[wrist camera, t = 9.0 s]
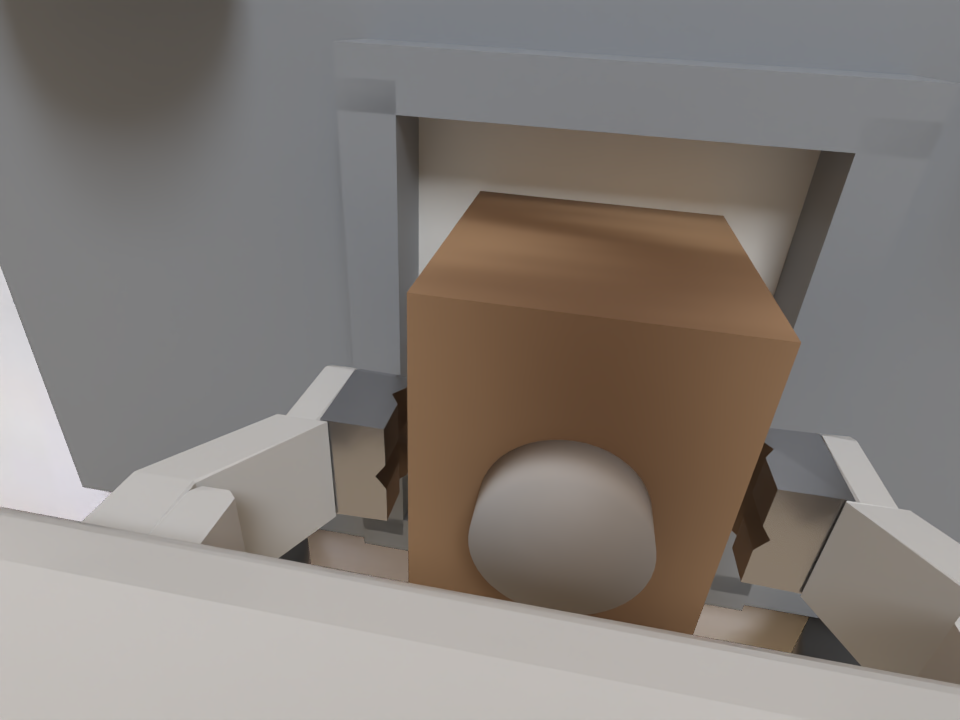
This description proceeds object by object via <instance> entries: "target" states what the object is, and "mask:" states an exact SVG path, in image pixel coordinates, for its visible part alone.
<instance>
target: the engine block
mask: <svg viewBox="0 0 960 720" xmlns="http://www.w3.org/2000/svg"><path fill="white" fill-rule="evenodd" d="M800 345H801V341H800V340H799V338H798V336H797V335H796V333H795V331H794V330H793V328H792V327H791V325H790V323H789V322H788V320H787V318H786V317H785V315H784V314H783V312H782V310H781V309H780V307H779V305H778V304H777V302H776V301H775V299H774V297H773V296H772V294H771V292H770V291H769V289H768V287H767V286H766V284H765V283H764V281H763V279H762V278H761V276H760V274H759V273H758V271H757V270H756V268H755V266H754V265H753V263H752V261H751V260H750V258H749V257H748V255H747V253H746V252H745V250H744V248H743V247H742V245H741V244H740V242H739V240H738V239H737V237H736V235H735V234H734V232H733V231H732V229H731V227H730V226H729V224H728V222H727V221H726V219H725V218H724V216H721V215H711V214H701V213H691V212H682V211H672V210H662V209H652V208H643V207H633V206H623V205H614V204H604V203H594V202H584V201H575V200H565V199H555V198H546V197H536V196H526V195H516V194H507V193H497V192H487V191H480V192H479V193H478V195H477V196H476V198H475V199H474V200H473V202H472V203H471V204H470V206H469V207H468V209H467V210H466V211H465V213H464V214H463V216H462V217H461V218H460V220H459V221H458V222H457V224H456V225H455V227H454V228H453V229H452V231H451V232H450V234H449V235H448V236H447V238H446V239H445V240H444V242H443V243H442V245H441V246H440V247H439V249H438V250H437V252H436V253H435V254H434V256H433V257H432V258H431V260H430V261H429V263H428V264H427V265H426V267H425V268H424V269H423V271H422V272H421V274H420V275H419V276H418V278H417V279H416V281H415V282H414V283H413V285H412V286H411V287H410V289H409V290H408V292H407V410H408V569H409V583H414V584H419V585H424V586H430V587H435V588H441V589H446V590H451V591H457V592H462V593H467V594H473V595H478V596H484V597H489V598H495V599H500V600H506V601H511V602H516V603H522V604H527V605H533V606H538V607H544V608H549V609H555V610H560V611H566V612H571V613H576V614H582V615H587V616H593V617H598V618H604V619H609V620H615V621H620V622H625V623H631V624H636V625H642V626H647V627H653V628H658V629H664V630H669V631H674V632H680V633H685V634H690V635H693V633H694V630H695V627H696V625H697V622H698V619H699V617H700V614H701V611H702V609H703V606H704V603H705V601H706V598H707V595H708V592H709V590H710V587H711V584H712V582H713V579H714V576H715V574H716V571H717V568H718V566H719V563H720V560H721V558H722V555H723V552H724V549H725V547H726V544H727V541H728V539H729V536H730V533H731V531H732V528H733V525H734V523H735V520H736V517H737V514H738V512H739V509H740V506H741V504H742V501H743V498H744V496H745V493H746V490H747V488H748V485H749V482H750V479H751V477H752V474H753V471H754V469H755V466H756V463H757V461H758V458H759V455H760V453H761V450H762V447H763V444H764V442H765V439H766V436H767V434H768V431H769V428H770V426H771V423H772V420H773V418H774V415H775V412H776V410H777V407H778V404H779V401H780V399H781V396H782V393H783V391H784V388H785V385H786V383H787V380H788V377H789V375H790V372H791V369H792V366H793V364H794V361H795V358H796V356H797V353H798V350H799V348H800Z"/></svg>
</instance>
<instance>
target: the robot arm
mask: <svg viewBox="0 0 960 720" xmlns="http://www.w3.org/2000/svg"><path fill="white" fill-rule="evenodd" d="M407 474H408V410H407V376H402V375H395V374H389V373H383V372H377V371H371V370H364V369H357V368H353V367H345V366H337V365H328V366H326V367H325V368H324V369H323V370H322V371H321V372H320V374H319V375H318V376H317V377H316V379H315V380H314V381H313V382H312V384H311V385H310V386H309V387H308V388H307V390H306V391H305V392H304V393H303V395H302V396H301V397H300V398H299V400H298V401H297V402H296V403H295V405H294V406H293V407H292V408H291V409H290V411H289V412H288V413H287V414H286V415H281V414H276V415H274V416H271V417H269V418H266V419H264V420H261V421H259V422H256V423H254V424H251V425H249V426H246V427H244V428H241V429H239V430H236V431H234V432H231V433H229V434H226V435H224V436H221V437H219V438H216V439H214V440H211V441H209V442H206V443H204V444H201V445H199V446H196V447H194V448H191V449H189V450H186V451H184V452H181V453H179V454H177V455H174V456H172V457H169V458H167V459H164V460H162V461H159V462H157V463H154V464H152V465H149V466H147V467H144V468H142V469H139V470H137V471H134V472H133V473H132V474H131V475H130V476H129V477H128V478H127V479H126V480H125V481H124V482H123V483H122V484H121V485H120V486H118V487H117V488H116V489H115V490H114V491H113V492H112V493H111V494H110V495H109V496H108V497H107V498H106V499H105V500H104V501H103V502H102V503H101V504H100V505H99V506H98V507H97V508H95V509H94V510H93V511H92V512H91V513H90V514H89V515H88V516H87V517H86V518H85V519H84V520H83V521H82V522H80V521H74V520H69V519H63V518H58V517H53V516H47V515H42V514H36V513H31V512H26V511H20V510H15V509H10V508H4V507H0V720H960V544H959V543H958V542H956V541H955V540H953V539H952V538H950V537H949V536H947V535H946V534H944V533H943V532H941V531H940V530H938V529H937V528H935V527H934V526H932V525H931V524H929V523H928V522H926V521H925V520H923V519H922V518H920V517H919V516H918V515H916V514H915V513H913V512H912V511H910V510H903V509H898V507H897V505H896V504H895V502H894V500H893V499H892V497H891V496H890V494H889V492H888V491H887V489H886V487H885V486H884V484H883V483H882V481H881V479H880V478H879V476H878V474H877V473H876V471H875V470H874V468H873V466H872V465H871V463H870V461H869V460H868V458H867V457H866V455H865V453H864V452H863V450H862V448H861V447H860V445H859V443H858V442H857V441H856V440H855V439H853V438H851V437H849V436H839V435H830V434H820V433H809V432H800V431H792V430H783V429H775V428H769V431H768V434H767V436H766V439H765V442H764V444H763V447H762V450H761V453H760V455H759V458H758V461H757V463H756V466H755V469H754V471H753V474H752V477H751V479H750V482H749V485H748V488H747V490H746V493H745V496H744V498H743V501H742V504H741V506H740V509H739V512H738V514H737V517H736V520H735V523H734V525H733V528H732V531H733V532H734V533H735V534H736V538H735V541H734V544H733V547H732V549H733V553H734V557H735V561H736V565H737V569H738V573H739V577H740V580H741V582H744V583H749V584H754V585H759V586H764V587H769V588H774V589H779V590H784V591H789V592H794V593H799V594H801V596H800V597H801V598H802V599H803V600H804V601H805V602H806V603H807V605H808V606H809V607H810V608H811V609H812V610H813V611H814V612H815V614H816V615H817V616H818V617H819V618H820V619H821V620H822V622H823V623H824V624H825V625H826V626H827V627H828V628H829V630H830V631H831V632H832V633H833V634H834V635H835V636H836V638H837V639H838V640H839V641H840V642H841V643H842V644H843V646H844V647H845V648H846V649H847V650H848V651H849V652H850V654H851V655H852V656H853V657H854V658H855V659H856V660H857V662H858V663H859V664H860V665H861V666H857V665H852V664H846V663H841V662H835V661H830V660H825V659H819V658H814V657H809V656H803V655H798V654H793V653H787V652H782V651H776V650H771V649H766V648H760V647H755V646H750V645H744V644H739V643H733V642H728V641H723V640H717V639H712V638H707V637H701V636H696V635H690V634H685V633H680V632H674V631H669V630H664V629H658V628H653V627H647V626H642V625H636V624H631V623H625V622H620V621H615V620H609V619H604V618H598V617H593V616H587V615H582V614H576V613H571V612H566V611H560V610H555V609H549V608H544V607H538V606H533V605H527V604H522V603H516V602H511V601H506V600H500V599H495V598H489V597H484V596H478V595H473V594H467V593H462V592H457V591H451V590H446V589H441V588H435V587H430V586H424V585H419V584H414V583H408V582H403V581H397V580H392V579H387V578H381V577H376V576H370V575H365V574H360V573H354V572H349V571H344V570H338V569H333V568H327V567H322V566H317V565H311V564H306V563H300V562H295V561H290V560H284V559H279V557H281V556H282V555H284V554H285V553H286V552H288V551H289V550H290V549H292V548H293V547H295V546H296V545H297V544H299V543H300V542H301V541H303V540H304V539H306V538H307V537H308V536H310V535H311V534H312V533H314V532H315V531H317V530H318V529H319V528H321V527H322V526H323V525H325V524H326V523H328V522H329V521H330V520H332V519H333V518H334V517H336V514H343V515H350V516H357V517H364V518H371V519H378V520H385V521H387V520H388V518H389V515H390V513H391V511H392V509H393V506H394V504H395V502H396V499H397V497H398V495H399V493H400V487H399V479H400V478H402V477H404V476H405V475H407Z"/></svg>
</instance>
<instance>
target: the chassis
mask: <svg viewBox="0 0 960 720" xmlns="http://www.w3.org/2000/svg"><path fill="white" fill-rule="evenodd" d="M480 191H487V192H497V193H507V194H516V195H526V196H536V197H546V198H555V199H565V200H575V201H584V202H594V203H604V204H614V205H623V206H633V207H643V208H652V209H662V210H672V211H682V212H691V213H701V214H711V215H721V216H724V218H725V219H726V221H727V222H728V224H729V226H730V227H731V229H732V231H733V232H734V234H735V235H736V237H737V239H738V240H739V242H740V244H741V245H742V247H743V248H744V250H745V252H746V253H747V255H748V257H749V258H750V260H751V261H752V263H753V265H754V266H755V268H756V270H757V271H758V273H759V274H760V276H761V278H762V279H763V281H764V283H765V284H766V286H767V287H768V289H769V291H770V292H771V294H772V296H773V297H774V299H775V301H776V302H777V304H778V305H779V307H780V309H781V310H782V312H783V314H784V315H785V317H786V318H787V320H788V322H789V323H790V325H791V327H792V328H793V330H794V331H795V333H796V335H797V336H798V338H799V340H800V341H801V345H800V348H799V350H798V353H797V356H796V358H795V361H794V364H793V366H792V369H791V372H790V375H789V377H788V380H787V383H786V385H785V388H784V391H783V393H782V396H781V399H780V401H779V404H778V407H777V410H776V412H775V415H774V418H773V420H772V423H771V426H770V428H775V429H783V430H792V431H800V432H809V433H820V434H830V435H839V436H849V437H851V438H853V439H855V440H856V441H857V442H858V443H859V445H860V447H861V448H862V450H863V452H864V453H865V455H866V457H867V458H868V460H869V461H870V463H871V465H872V466H873V468H874V470H875V471H876V473H877V474H878V476H879V478H880V479H881V481H882V483H883V484H884V486H885V487H886V489H887V491H888V492H889V494H890V496H891V497H892V499H893V500H894V502H895V504H896V505H897V507H898V509H903V510H910V511H912V512H913V513H915V514H916V515H918V516H919V517H920V518H922V519H923V520H925V521H926V522H928V523H929V524H931V525H932V526H934V527H935V528H937V529H938V530H940V531H941V532H943V533H944V534H946V535H947V536H949V537H950V538H952V539H953V540H955V541H956V542H958V543H959V544H960V0H0V266H1V269H2V271H3V274H4V277H5V279H6V282H7V285H8V287H9V290H10V293H11V295H12V298H13V301H14V304H15V306H16V309H17V312H18V314H19V317H20V320H21V322H22V325H23V328H24V330H25V333H26V336H27V338H28V341H29V344H30V346H31V349H32V352H33V354H34V357H35V360H36V363H37V365H38V368H39V371H40V373H41V376H42V379H43V381H44V384H45V387H46V389H47V392H48V395H49V397H50V400H51V403H52V405H53V408H54V411H55V413H56V416H57V419H58V422H59V424H60V427H61V430H62V432H63V435H64V438H65V440H66V443H67V446H68V448H69V451H70V454H71V456H72V459H73V462H74V464H75V467H76V470H77V472H78V475H79V478H80V481H81V483H82V486H83V487H86V488H91V489H97V490H102V491H108V492H113V491H114V490H115V489H116V488H117V487H118V486H120V485H121V484H122V483H123V482H124V481H125V480H126V479H127V478H128V477H129V476H130V475H131V474H132V473H133V472H134V471H137V470H139V469H142V468H144V467H147V466H149V465H152V464H154V463H157V462H159V461H162V460H164V459H167V458H169V457H172V456H174V455H177V454H179V453H181V452H184V451H186V450H189V449H191V448H194V447H196V446H199V445H201V444H204V443H206V442H209V441H211V440H214V439H216V438H219V437H221V436H224V435H226V434H229V433H231V432H234V431H236V430H239V429H241V428H244V427H246V426H249V425H251V424H254V423H256V422H259V421H261V420H264V419H266V418H269V417H271V416H274V415H276V414H281V415H286V414H287V413H288V412H289V411H290V409H291V408H292V407H293V406H294V405H295V403H296V402H297V401H298V400H299V398H300V397H301V396H302V395H303V393H304V392H305V391H306V390H307V388H308V387H309V386H310V385H311V384H312V382H313V381H314V380H315V379H316V377H317V376H318V375H319V374H320V372H321V371H322V370H323V369H324V368H325V367H326V366H328V365H337V366H345V367H353V368H357V369H364V370H371V371H377V372H383V373H389V374H395V375H402V376H407V292H408V290H409V289H410V287H411V286H412V285H413V283H414V282H415V281H416V279H417V278H418V276H419V275H420V274H421V272H422V271H423V269H424V268H425V267H426V265H427V264H428V263H429V261H430V260H431V258H432V257H433V256H434V254H435V253H436V252H437V250H438V249H439V247H440V246H441V245H442V243H443V242H444V240H445V239H446V238H447V236H448V235H449V234H450V232H451V231H452V229H453V228H454V227H455V225H456V224H457V222H458V221H459V220H460V218H461V217H462V216H463V214H464V213H465V211H466V210H467V209H468V207H469V206H470V204H471V203H472V202H473V200H474V199H475V198H476V196H477V195H478V193H479V192H480ZM399 487H400V493H399V495H398V497H397V499H396V502H395V504H394V506H393V509H392V511H391V513H390V515H389V518H388V520H387V521H385V520H378V519H371V518H364V517H357V516H350V515H343V514H336V517H334V518H333V519H332V520H330V521H329V522H328V523H326V524H325V525H323V526H322V527H321V528H319V529H321V530H327V531H332V532H338V533H344V534H349V535H355V536H361V537H364V541H365V543H368V544H373V545H379V546H384V547H390V548H395V549H401V550H407V551H408V474H407V475H405V476H404V477H402V478H400V479H399ZM735 538H736V534H735V533H734V532H733V531H731V533H730V536H729V539H728V541H727V544H726V547H725V549H724V552H723V555H722V558H721V560H720V563H719V566H718V568H717V571H716V574H715V576H714V579H713V582H712V584H711V587H710V590H709V592H708V595H707V598H706V601H705V603H704V604H707V605H713V606H719V607H724V608H730V609H735V610H741V611H742V609H743V606H744V605H748V606H753V607H759V608H765V609H770V610H776V611H781V612H787V613H793V614H798V615H804V616H809V619H808V621H807V623H806V625H805V627H804V629H803V631H802V633H801V635H800V637H799V639H798V641H797V643H796V645H795V647H794V649H793V651H792V653H793V654H798V655H803V656H809V657H814V658H819V659H825V660H830V661H835V662H841V663H846V664H852V665H857V666H861V665H860V664H859V663H858V662H857V660H856V659H855V658H854V657H853V656H852V655H851V654H850V652H849V651H848V650H847V649H846V648H845V647H844V646H843V644H842V643H841V642H840V641H839V640H838V639H837V638H836V636H835V635H834V634H833V633H832V632H831V631H830V630H829V628H828V627H827V626H826V625H825V624H824V623H823V622H822V620H821V619H820V618H819V617H818V616H817V615H816V614H815V612H814V611H813V610H812V609H811V608H810V607H809V606H808V605H807V603H806V602H805V601H804V600H803V599H802V598H801V597H800V596H801V594H799V593H794V592H789V591H784V590H779V589H774V588H769V587H764V586H759V585H754V584H749V583H744V582H741V580H740V577H739V573H738V569H737V565H736V561H735V557H734V553H733V549H732V547H733V544H734V541H735ZM279 559H284V560H290V561H295V562H300V563H306V564H311V561H310V553H309V545H308V538H306V539H304V540H303V541H301V542H300V543H299V544H297V545H296V546H295V547H293V548H292V549H290V550H289V551H288V552H286V553H285V554H284V555H282V556H281V557H279Z"/></svg>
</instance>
